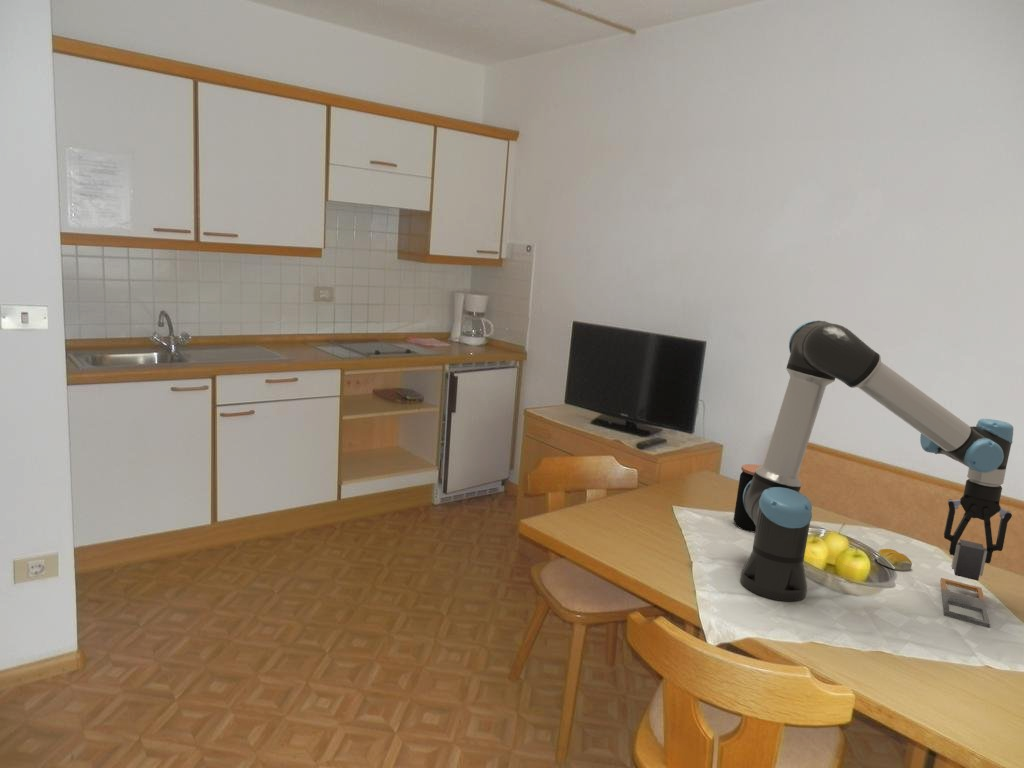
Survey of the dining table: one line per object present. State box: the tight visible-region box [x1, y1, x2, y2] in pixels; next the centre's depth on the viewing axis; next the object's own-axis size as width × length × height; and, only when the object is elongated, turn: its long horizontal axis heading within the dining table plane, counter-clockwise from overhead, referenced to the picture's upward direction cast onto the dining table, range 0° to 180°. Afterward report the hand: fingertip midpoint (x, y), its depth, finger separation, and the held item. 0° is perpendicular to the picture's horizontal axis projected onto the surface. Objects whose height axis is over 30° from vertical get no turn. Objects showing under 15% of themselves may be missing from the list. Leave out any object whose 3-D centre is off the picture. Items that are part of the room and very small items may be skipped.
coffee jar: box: [733, 463, 762, 532], centre depth 214 cm, size 11×11×18 cm
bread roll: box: [877, 548, 913, 572], centre depth 195 cm, size 8×9×4 cm
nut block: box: [953, 538, 985, 582], centre depth 179 cm, size 5×5×8 cm
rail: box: [940, 577, 991, 628], centre depth 174 cm, size 24×9×1 cm, turn 151°
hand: (966, 570), depth 179 cm, fingers closed on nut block, 5 cm apart
